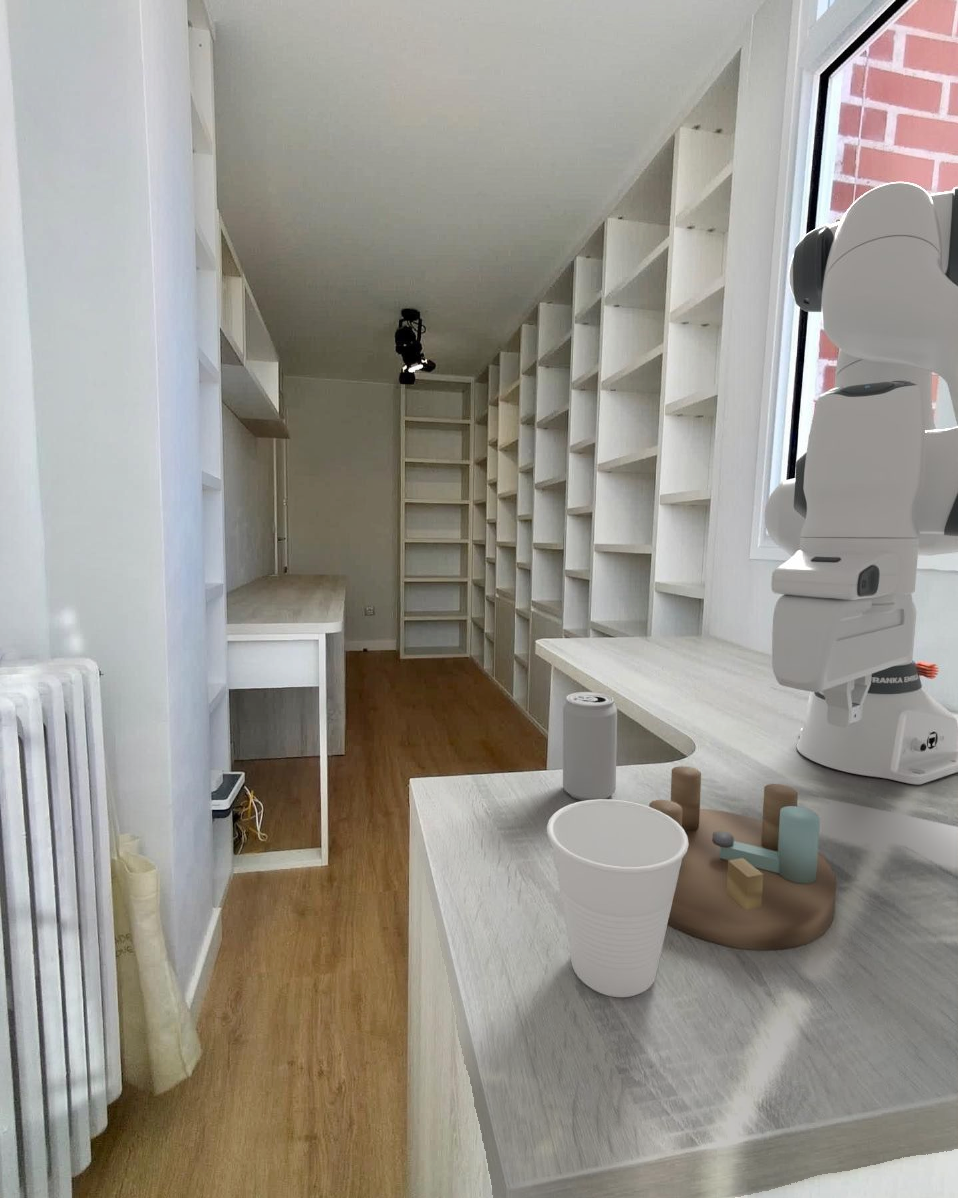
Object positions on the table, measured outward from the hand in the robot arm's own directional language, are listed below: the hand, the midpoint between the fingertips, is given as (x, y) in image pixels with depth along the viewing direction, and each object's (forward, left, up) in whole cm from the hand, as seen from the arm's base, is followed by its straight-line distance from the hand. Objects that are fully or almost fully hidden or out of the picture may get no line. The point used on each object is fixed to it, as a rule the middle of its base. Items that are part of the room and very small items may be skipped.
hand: (843, 723), depth 55 cm
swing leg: (+9, +1, -12) cm, 15 cm away
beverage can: (+15, -22, -15) cm, 30 cm away
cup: (+25, +6, -15) cm, 30 cm away
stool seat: (+11, -2, -15) cm, 18 cm away
